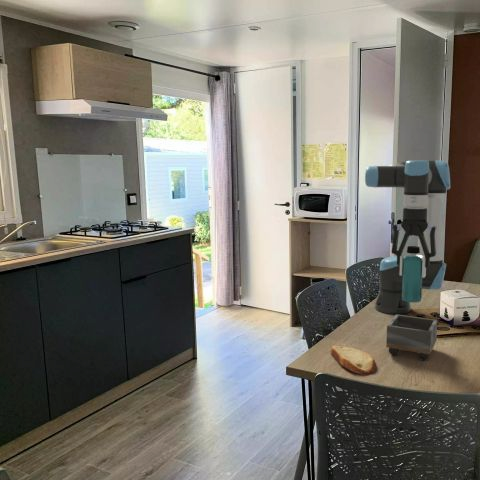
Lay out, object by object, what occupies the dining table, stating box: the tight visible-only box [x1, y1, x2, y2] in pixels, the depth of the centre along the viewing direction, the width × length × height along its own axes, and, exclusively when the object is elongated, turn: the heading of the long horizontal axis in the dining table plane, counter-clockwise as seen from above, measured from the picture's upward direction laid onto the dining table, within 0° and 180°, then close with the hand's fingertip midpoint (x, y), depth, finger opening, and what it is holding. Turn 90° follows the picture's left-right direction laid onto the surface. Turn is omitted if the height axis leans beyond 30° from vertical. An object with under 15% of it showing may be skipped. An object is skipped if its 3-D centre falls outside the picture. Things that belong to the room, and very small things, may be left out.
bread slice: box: [329, 345, 377, 376], centre depth 166 cm, size 18×18×4 cm
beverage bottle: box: [402, 245, 423, 303], centre depth 169 cm, size 6×7×20 cm
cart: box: [385, 314, 438, 362], centre depth 172 cm, size 14×14×10 cm
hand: (412, 275), depth 169 cm, fingers closed on beverage bottle, 6 cm apart
